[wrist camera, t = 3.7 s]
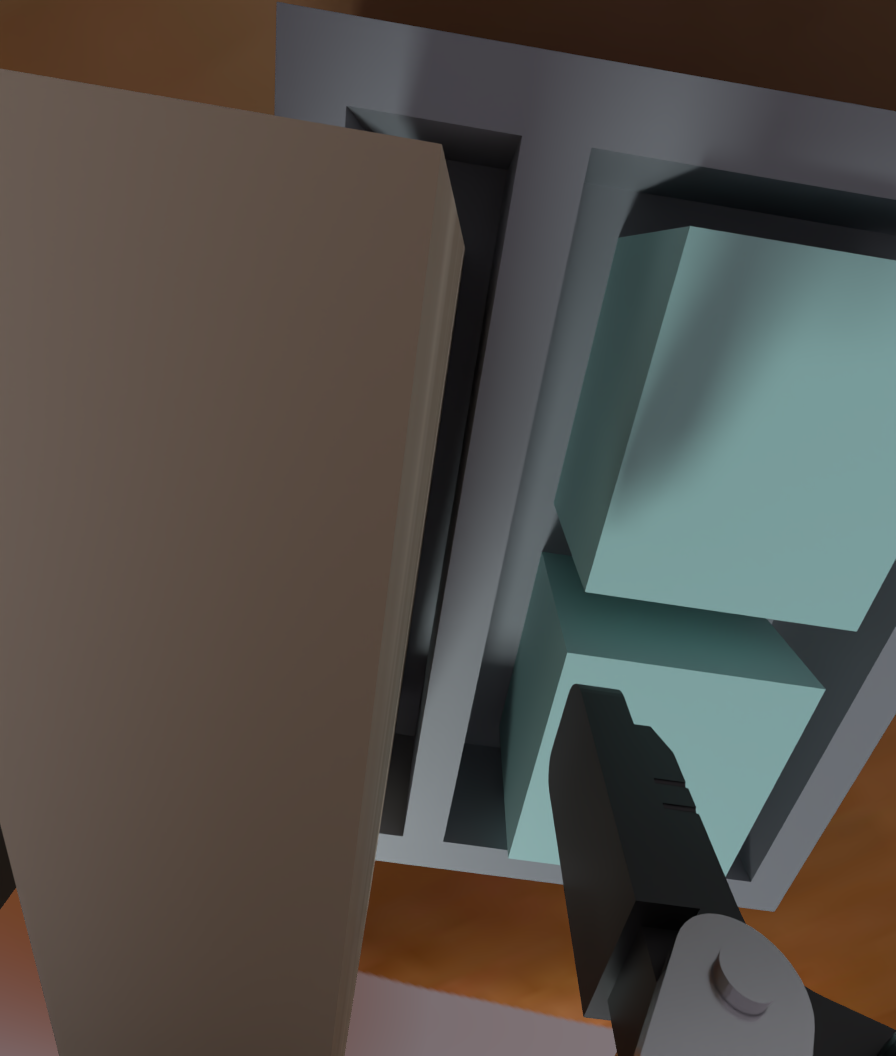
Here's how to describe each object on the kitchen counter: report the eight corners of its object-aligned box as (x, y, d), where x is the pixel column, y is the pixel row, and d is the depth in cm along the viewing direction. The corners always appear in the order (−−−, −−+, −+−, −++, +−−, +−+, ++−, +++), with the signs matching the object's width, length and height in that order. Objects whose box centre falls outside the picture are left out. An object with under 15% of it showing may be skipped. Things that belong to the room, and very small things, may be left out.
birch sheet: (354, 688, 20) (155, 1434, 7) (400, 239, 14) (-197, 33, 1) (400, 694, 20) (283, 1446, 7) (465, 249, 14) (440, 144, 1)
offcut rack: (304, 721, 22) (260, 845, 18) (341, 90, 14) (276, 2, 9) (710, 776, 23) (774, 911, 18) (980, 200, 14) (1228, 170, 10)
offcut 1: (553, 503, 17) (585, 591, 12) (617, 237, 14) (690, 226, 9) (753, 533, 17) (856, 631, 13) (858, 277, 14) (1042, 285, 10)
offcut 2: (499, 726, 20) (508, 858, 16) (541, 551, 18) (567, 652, 13) (665, 748, 21) (720, 886, 16) (734, 580, 18) (825, 689, 13)
